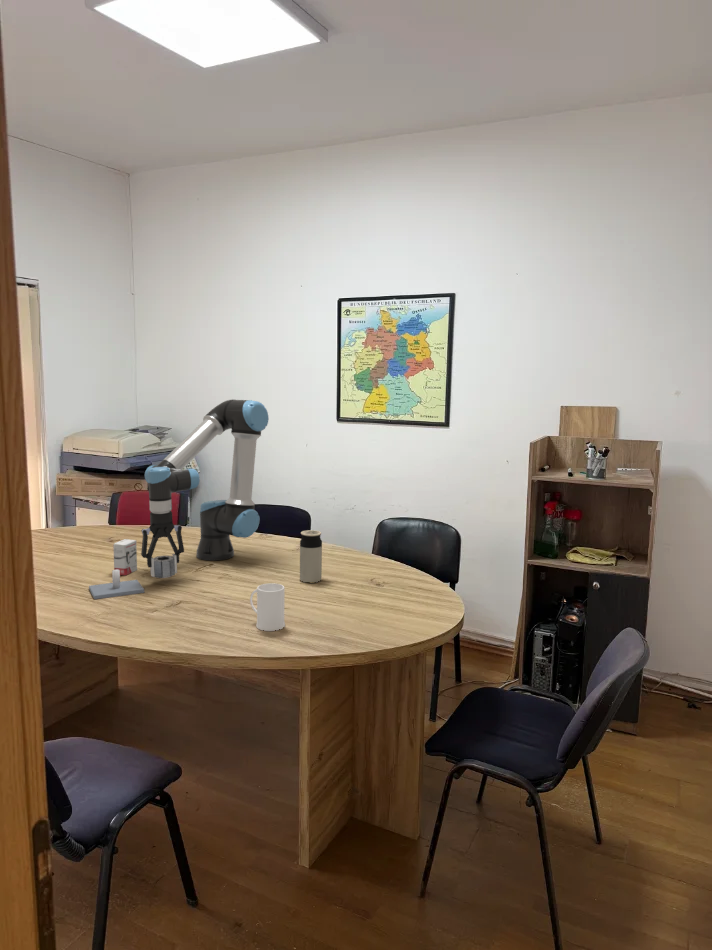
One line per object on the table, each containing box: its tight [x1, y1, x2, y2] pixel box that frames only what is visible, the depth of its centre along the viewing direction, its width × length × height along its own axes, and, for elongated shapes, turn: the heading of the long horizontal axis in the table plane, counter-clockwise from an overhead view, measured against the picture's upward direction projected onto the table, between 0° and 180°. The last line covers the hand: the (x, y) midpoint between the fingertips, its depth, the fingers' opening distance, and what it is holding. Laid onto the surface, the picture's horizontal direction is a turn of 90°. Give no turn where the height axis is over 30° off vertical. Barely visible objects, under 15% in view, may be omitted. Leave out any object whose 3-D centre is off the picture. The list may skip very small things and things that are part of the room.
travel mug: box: [299, 529, 323, 583], centre depth 241 cm, size 8×8×18 cm
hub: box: [153, 555, 176, 579], centre depth 235 cm, size 7×7×6 cm
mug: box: [249, 582, 286, 632], centre depth 197 cm, size 12×8×12 cm
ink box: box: [113, 538, 138, 577], centre depth 246 cm, size 9×5×12 cm, turn 168°
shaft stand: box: [88, 569, 145, 600], centre depth 225 cm, size 16×12×7 cm
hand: (164, 573), depth 235 cm, fingers closed on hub, 7 cm apart
